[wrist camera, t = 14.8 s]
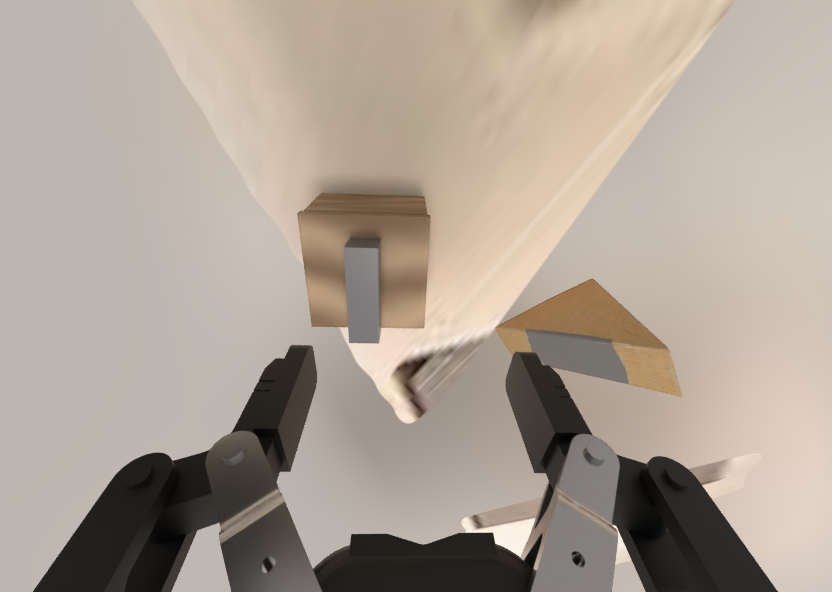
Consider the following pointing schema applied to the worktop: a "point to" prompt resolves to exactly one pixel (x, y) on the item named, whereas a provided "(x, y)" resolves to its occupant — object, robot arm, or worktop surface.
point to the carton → (368, 204)
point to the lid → (399, 264)
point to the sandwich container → (592, 339)
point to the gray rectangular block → (363, 289)
